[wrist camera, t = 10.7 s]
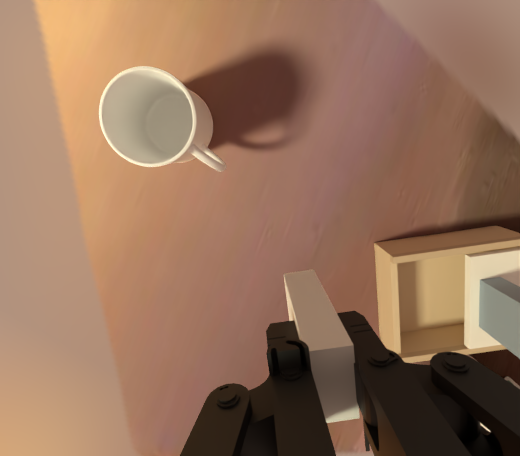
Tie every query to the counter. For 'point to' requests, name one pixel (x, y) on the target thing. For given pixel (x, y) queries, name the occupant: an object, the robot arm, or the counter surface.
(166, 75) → the mug
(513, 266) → the lid
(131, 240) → the counter surface
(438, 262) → the box
